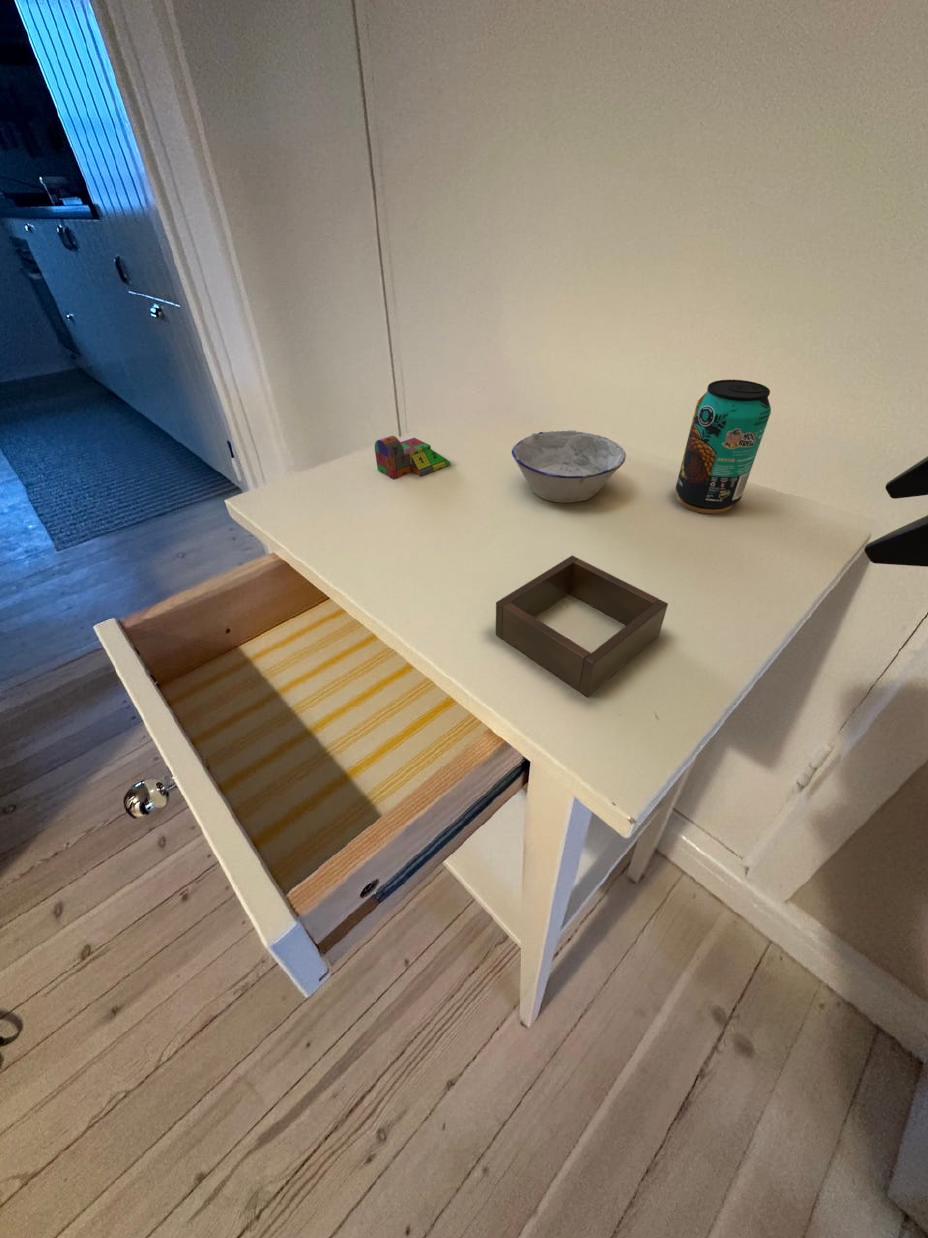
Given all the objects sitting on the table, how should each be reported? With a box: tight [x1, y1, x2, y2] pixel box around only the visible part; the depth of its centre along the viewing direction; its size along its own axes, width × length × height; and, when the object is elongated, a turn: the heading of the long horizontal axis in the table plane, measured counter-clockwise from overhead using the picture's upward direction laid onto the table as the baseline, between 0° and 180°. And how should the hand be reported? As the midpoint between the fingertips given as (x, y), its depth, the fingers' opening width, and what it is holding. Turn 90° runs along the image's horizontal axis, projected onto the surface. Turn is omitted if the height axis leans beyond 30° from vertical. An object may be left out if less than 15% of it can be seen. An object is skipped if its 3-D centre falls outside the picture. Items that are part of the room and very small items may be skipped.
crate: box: [495, 554, 669, 697], centre depth 43 cm, size 10×10×4 cm
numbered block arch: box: [374, 435, 451, 480], centre depth 68 cm, size 8×5×4 cm
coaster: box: [676, 493, 733, 514], centre depth 61 cm, size 6×6×1 cm
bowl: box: [511, 429, 627, 504], centre depth 63 cm, size 13×13×5 cm
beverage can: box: [675, 379, 772, 510], centre depth 56 cm, size 7×7×12 cm
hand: (878, 520), depth 33 cm, fingers open, 9 cm apart
